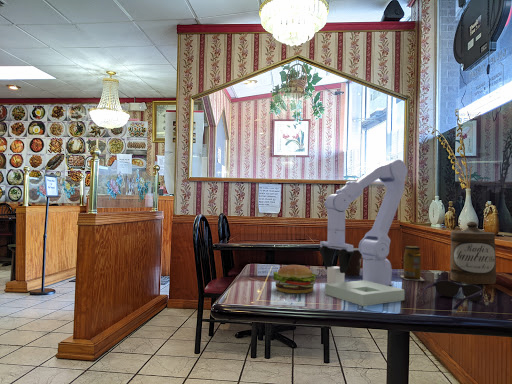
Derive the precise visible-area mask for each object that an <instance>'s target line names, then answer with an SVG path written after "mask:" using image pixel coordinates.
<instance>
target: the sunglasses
mask: <svg viewBox="0 0 512 384" xmlns="http://www.w3.org/2000/svg"><path fill="white" fill-rule="evenodd" d="M433 287H435V291H436V292H437V293H438V294H439V295H441V296H444V297H449V298H453V297H455V296H457V295H458V293H459V292H460V288H461V292H462V295H463V296H464V297H463V298H462V299H460V300H459V301H458V302H457V303H456V304H455V305H454V306H453V310H458V308H459V307H460V306H461V305H462V303H464V302H465V301H467V300H468V301H473V302H477V303H478V302H479V303H480V302H481V301H482V299H483V294H484V293H483V292H484V291H483V289H482V287H481V286H478V285H477V284H462V283H461V284H460V283H458V282H457V283H456V282H455V281H452V280H451V281H450V280H444V279H443V280H442V279H441V280H437V281H436V282H432V283H429V284H428V285H426V286H425V287H424V288H423V289H422V300H423V301H422V303H423V304H425V303H426V302H425V290H427V289H429V288H433Z"/></svg>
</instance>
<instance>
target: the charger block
mask: <svg viewBox="0 0 512 384" xmlns="http://www.w3.org/2000/svg"><path fill="white" fill-rule="evenodd" d="M326 272H327V273H326V274H327V275H326V276H327V277H326V280H327V281H326V284H331V283H341V282H346V281H345V280H346V279H345V277H346V275H345V273H340V266H335V265H334V266H332V267H327V271H326Z"/></svg>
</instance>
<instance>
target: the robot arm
mask: <svg viewBox="0 0 512 384" xmlns="http://www.w3.org/2000/svg"><path fill="white" fill-rule="evenodd" d="M408 173H409V171H408V168H407V166H406V163H405V162H404V161H403V160H402V159H398V158H397V159H394V160H388V161H380V162H378V163H377V164H376V165H374V166H372V167H371V169H369V170H368V171H367V172H366V173H365V174H363V175H362V176H361V177H360V178H359V179H357V180H351V181H350V180H349V181H346V182H345V185H344V186H342V187H341V188H339V189H337V190H336V191H335V193H332V194H330V195H328V196H327V197H326V200H325V201H324V203H323V205H324V207H325V209H326V210H327V213H326V214H327V235H326V236H327V240H326V241H325V240H323V241H321V240H320V243H319V244H320V245H319V247H320V248H318V252H319V253H320V255H321V257H322V261H323V264H324V269H325V270H327V267H333V259H334V258H333V257H334V253H335V250H336V254H337V256H338V260H339V267H340V273H346V272H347V269H348V265H349V262H350V260H351V258H352V256H353V255H354V252H352V251H353V248H354V244H350V243H346V210H348V209H349V207H350V204H351V203H353V201H355V200H356V199H358V198H359V197H360V196H361V195H362V194H363V190H364V189H365V188H366V187H369V186H370V185H371V184H372V183H374V182H376V181H377V180H379V181H380V182H381V184H382V185H383V186H384V187H385V188H386V191H385V194H384V196H383V199H382V202H381V205H380V207H379V210H378V212H377V215H376V217H375V220H374V223H373V225H372V226H371V229H370V230H369V231H367V232H366V233H365V234H364V237H363V238H362V239H361V240H360V241H359V243H358V248H359V251H360V253H361V254H362V280H366V281H370V282H374V283H378V284H383V285H387V286H394V283H392V263H391V261H390V260H389V259H388V258H387V257H388V256H389V254H390V245H391V238H390V237H389V235H388V234H389V232H390V231H389V230H390V229H391V226H392V223H393V221H394V218H395V215H396V213H397V211H398V207H399V204H400V202H401V199H402V196H403V194H404V192H405V185H406V184H405V182H406V180H405V179H406V177H407V174H408ZM341 250H342V251H341Z"/></svg>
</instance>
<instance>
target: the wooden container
mask: <svg viewBox="0 0 512 384" xmlns="http://www.w3.org/2000/svg"><path fill="white" fill-rule="evenodd" d="M466 226H467V228H466V229H464V230H453V231H450V257H449V258H450V261H449V262H450V265H449V267H450V270H449V272H450V273H449V274H450V280H451V281H452V282H455V283H456V282H457V283H461V282H462V283H461V284H467V283H469V284H468V285H478V284H490V285H494V284H495V285H496V281H497V258H496V233H495V232H490V231H489V232H488V231H482V230H480V229H479V228H477V227H478V223H477V222H475V221H469V222H467V223H466Z"/></svg>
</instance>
